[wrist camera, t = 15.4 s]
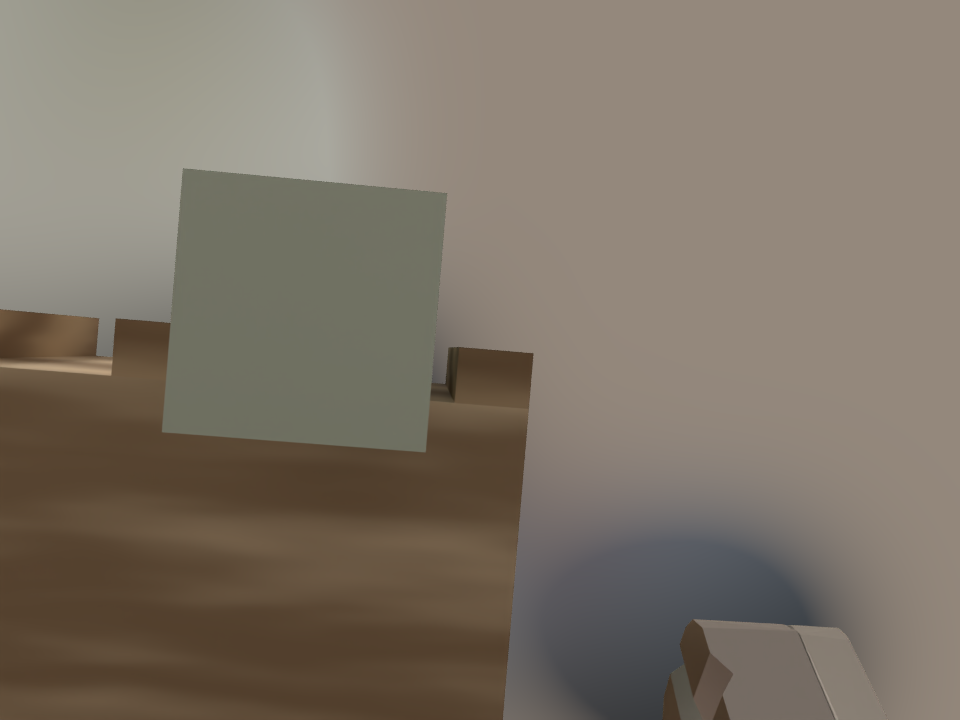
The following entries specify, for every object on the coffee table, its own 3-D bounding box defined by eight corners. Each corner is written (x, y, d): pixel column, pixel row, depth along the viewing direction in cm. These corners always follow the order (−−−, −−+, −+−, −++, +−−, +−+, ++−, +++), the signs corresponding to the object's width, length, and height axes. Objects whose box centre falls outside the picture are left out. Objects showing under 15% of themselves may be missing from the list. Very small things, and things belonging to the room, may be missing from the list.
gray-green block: (425, 451, 11) (447, 193, 11) (161, 431, 11) (183, 168, 11) (430, 379, 38) (437, 302, 38) (353, 373, 38) (359, 295, 38)
